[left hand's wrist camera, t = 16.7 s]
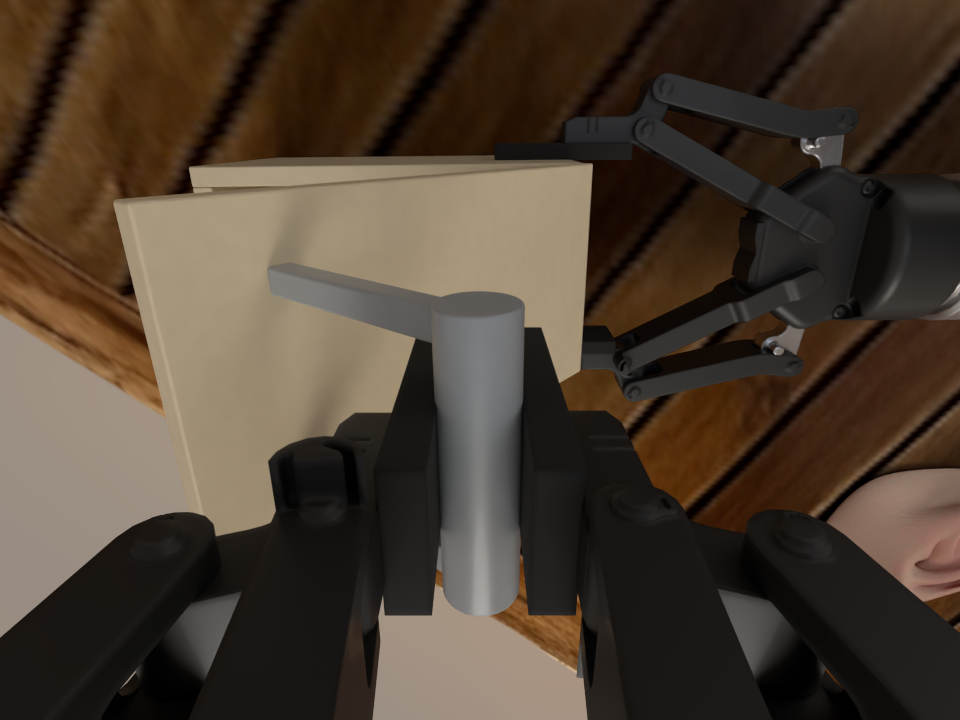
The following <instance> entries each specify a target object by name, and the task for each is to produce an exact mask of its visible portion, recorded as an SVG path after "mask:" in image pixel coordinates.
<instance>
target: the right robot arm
mask: <svg viewBox="0 0 960 720" xmlns="http://www.w3.org/2000/svg"><path fill="white" fill-rule="evenodd" d="M639 94H640V95H639V97H638V100H637V102H636V105H635V107H634V109H633V110H632V111H631V112H630V113H629V114H628V115H626V116H624V117H574V118H571V119H569V120H566V121H564V122H562V135H561V143H494V159H495V160H631V159H632V148H633V145H635V146H637V147H638V148H640V149H642V150H644V151H645V152H647V153H649V154H651V155H652V156H654V157H656V158H658V159H659V160H661V161H663V162H664V163H666V164H668V165H670V166H671V167H673V168H675V169H677V170H678V171H680V172H682V173H684V174H685V175H687V176H689V177H691V178H692V179H694V180H696V181H697V182H699V183H701V184H703V185H704V186H706V187H708V188H710V189H711V190H713V191H715V192H717V193H718V194H720V195H722V196H723V197H725V198H727V200H729V201H730V202H732V203H734V204H735V205H737V206H739V207H741V208H742V209H744V210H746V211H748V213H747V214H746V216H745V217H741V220H740V226H739V241H740V248H739V250H738V253H737V255H736V257H735V259H734V263H733V270H732V275H734V277H732V278H730V279H728V280H726V281H724V282H722V283H720V284H718V285H716V286H715V287H714V289H713V290H712V291H711V292H709V293H707V294H705V295H703V296H701V297H699V298H697V299H694V300H692V301H690V302H688V303H686V304H684V305H682V306H680V307H678V308H676V309H674V310H672V311H669V312H667V313H665V314H663V315H661V316H659V317H657V318H655V319H653V320H651V321H649V322H646V323H644V324H642V325H640V326H638V327H636V328H634V329H632V330H630V331H628V332H626V333H624V334H621V335H619V336H617V337H615V338H614V337H613V336H612V334H611V333H610V331H609V330H608V328H607V327H606V326H583V333H582V350H581V366H580V369H607V370H611V371H613V372H614V374H615V379H616V381H617V383H618V385H619V387H620V389H621V391H622V392H623V394H624V396H625V398H626V399H627V400H629V401H632V402H635V401H640V400H645V399H649V398H654V397H658V396H663V395H667V394H672V393H676V392H681V391H685V390H690V389H694V388H699V387H703V386H708V385H712V384H717V383H721V382H726V381H730V380H735V379H739V378H744V377H749V376H753V375H758V374H765V375H776V376H787V377H792V376H796V375H798V374H799V373H800V372H801V371H802V369H803V367H804V363H803V360H802V359H801V358H799V357H798V356H797V355H796V354H797V351H798V348H799V345H800V342H801V339H802V336H803V333H804V330H805V329H806V328H810V327H813V326H815V325H817V324H819V323H821V322H824V321H828V320H911V319H917V318H919V319H926V320H958V319H960V173H953V174H942V175H936V174H855V173H853V172H851V171H849V170H848V169H847V168H845V167H843V166H841V159H842V150H843V142H844V134H847V133H850V132H851V131H852V130H854V129H855V127H856V126H857V124H858V121H859V114H858V112H857V110H856V109H854V108H853V107H838V108H826V109H815V110H804V109H800V108H796V107H793V106H789V105H785V104H782V103H778V102H774V101H771V100H767V99H763V98H760V97H756V96H752V95H749V94H745V93H741V92H738V91H734V90H730V89H727V88H723V87H719V86H716V85H712V84H708V83H704V82H701V81H697V80H693V79H690V78H686V77H682V76H679V75H675V74H671V73H664V74H661V75H658V76H655V77H652V78H650V79H648V80H646V81H645V82H644V83H643V84H642V86H641V88H640V93H639ZM667 110H671V111H675V112H678V113H682V114H686V115H690V116H693V117H697V118H701V119H705V120H708V121H712V122H716V123H720V124H723V125H727V126H731V127H735V128H738V129H742V130H746V131H749V132H753V133H757V134H761V135H764V136H769V137H774V138H792V139H791V141H790V144H791V147H792V149H793V151H794V152H796V153H797V154H803V155H805V156H807V157H808V158H809V159H810V162H811V167H809V168H807V169H806V170H804V171H803V172H801V173H800V174H798V175H797V176H795V177H794V178H792V179H791V180H789V181H788V182H786V183H785V184H783V185H782V186H780V187H779V188H777V187H775V186H773V185H771V184H769V183H766V182H764V181H762V180H760V179H758V178H756V177H754V176H753V175H751V174H749V173H748V172H746V171H744V170H743V169H741V168H739V167H737V166H736V165H734V164H732V163H731V162H729V161H727V160H726V159H724V158H722V157H720V156H719V155H717V154H715V153H714V152H712V151H710V150H709V149H707V148H705V147H704V146H702V145H700V144H698V143H697V142H695V141H693V140H692V139H690V138H688V137H687V136H685V135H683V134H681V133H680V132H678V131H676V130H675V129H673V128H671V127H670V126H668V125H666V124H665V123H663V122H662V120H663V118H664V116H665V113H666V111H667ZM768 312H770V313H771V314H772V315H773V316H775V317H776V318H777V319H779V320H780V322H779V324H778V325H777V327H776V328H774V329H773V330H771V331H765V332H759V333H757V334H756V335H755V337H754V339H755V340H737V341H731V342H727V343H722V344H718V345H714V346H709V347H705V348H700V349H696V350H692V351H687V352H683V353H679V354H674V355H670V356H665V355H667V354H669V353H671V352H673V351H675V350H678V349H680V348H682V347H684V346H686V345H688V344H690V343H693V342H695V341H697V340H699V339H701V338H703V337H706V336H708V335H710V334H712V333H714V332H716V331H718V330H721V329H723V328H725V327H727V326H729V325H731V324H733V323H736V322H746V321H750V320H752V319H755V318H757V317H759V316H761V315H763V314H765V313H768ZM662 356H665V357H662ZM660 357H661V358H660Z"/></svg>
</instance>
